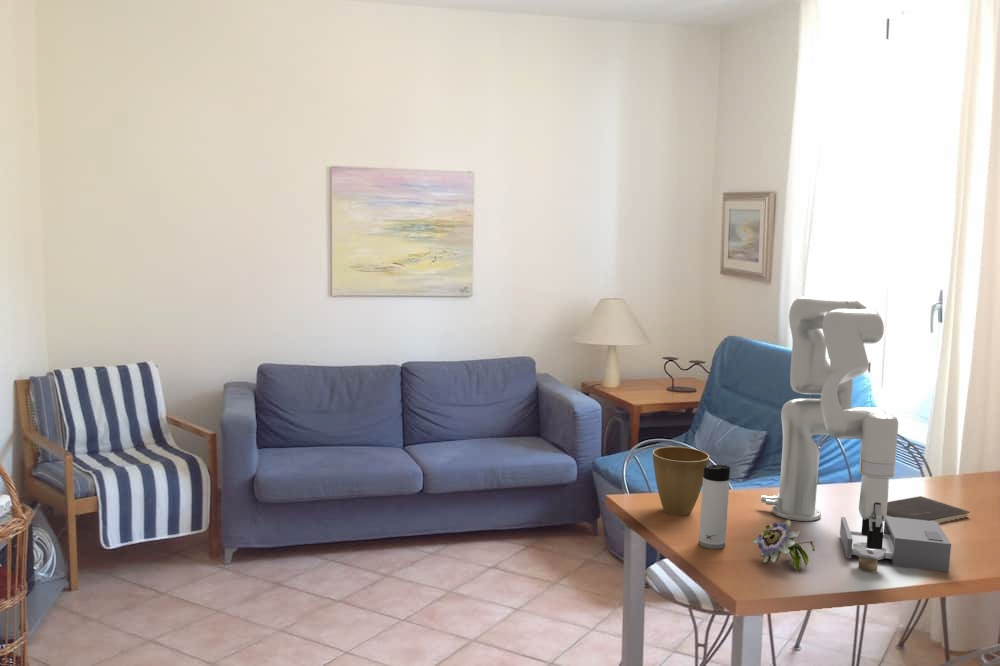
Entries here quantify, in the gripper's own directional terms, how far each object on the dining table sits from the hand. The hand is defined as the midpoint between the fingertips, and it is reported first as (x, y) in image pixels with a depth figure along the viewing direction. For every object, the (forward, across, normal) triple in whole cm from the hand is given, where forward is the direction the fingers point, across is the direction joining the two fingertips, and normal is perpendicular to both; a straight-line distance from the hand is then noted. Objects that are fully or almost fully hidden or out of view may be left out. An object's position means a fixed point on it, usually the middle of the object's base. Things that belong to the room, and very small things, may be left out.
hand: (871, 541), depth 219 cm
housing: (+6, -14, +12) cm, 19 cm away
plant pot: (+6, -29, -45) cm, 54 cm away
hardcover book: (+6, -50, +18) cm, 53 cm away
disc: (+3, -1, 0) cm, 3 cm away
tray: (+6, -14, +2) cm, 15 cm away
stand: (+7, -1, 0) cm, 7 cm away
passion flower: (+7, +1, -19) cm, 21 cm away
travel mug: (+6, -5, -35) cm, 36 cm away
